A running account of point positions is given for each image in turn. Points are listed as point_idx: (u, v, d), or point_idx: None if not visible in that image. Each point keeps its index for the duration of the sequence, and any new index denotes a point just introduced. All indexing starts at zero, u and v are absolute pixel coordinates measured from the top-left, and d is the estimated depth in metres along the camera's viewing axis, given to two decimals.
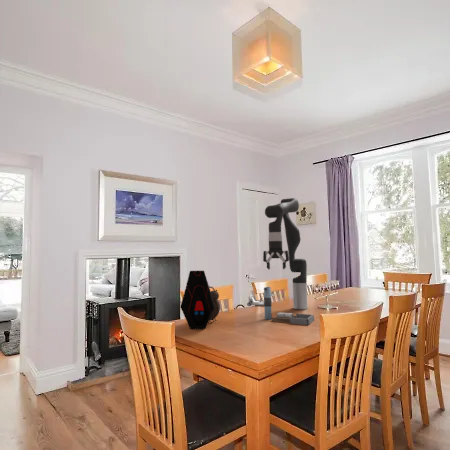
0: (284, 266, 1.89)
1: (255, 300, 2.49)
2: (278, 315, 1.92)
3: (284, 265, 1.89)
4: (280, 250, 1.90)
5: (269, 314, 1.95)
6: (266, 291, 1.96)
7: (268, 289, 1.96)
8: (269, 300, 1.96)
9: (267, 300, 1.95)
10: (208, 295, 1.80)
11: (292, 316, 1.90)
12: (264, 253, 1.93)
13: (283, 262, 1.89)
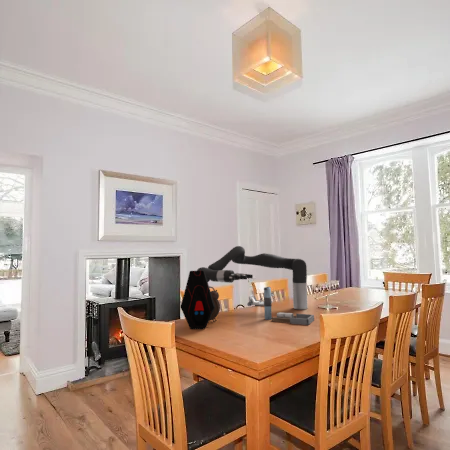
0: None
1: (255, 300, 2.49)
2: (278, 315, 1.92)
3: None
4: None
5: (269, 314, 1.95)
6: (266, 291, 1.96)
7: (268, 289, 1.96)
8: (269, 300, 1.96)
9: (267, 300, 1.95)
10: (208, 295, 1.80)
11: (292, 316, 1.90)
12: (231, 275, 2.02)
13: (246, 275, 2.09)
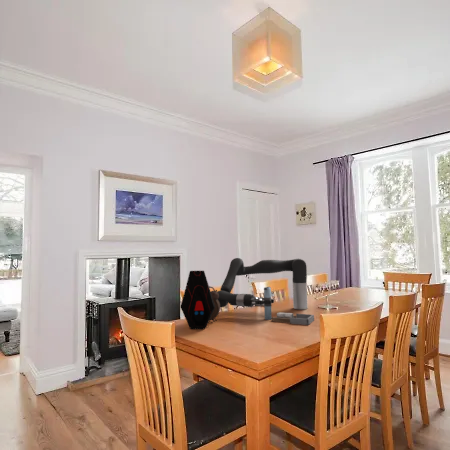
0: None
1: None
2: (278, 315, 1.92)
3: None
4: None
5: (269, 314, 1.95)
6: (266, 291, 1.96)
7: (268, 289, 1.96)
8: None
9: None
10: (208, 295, 1.80)
11: (292, 316, 1.90)
12: (254, 300, 1.95)
13: None
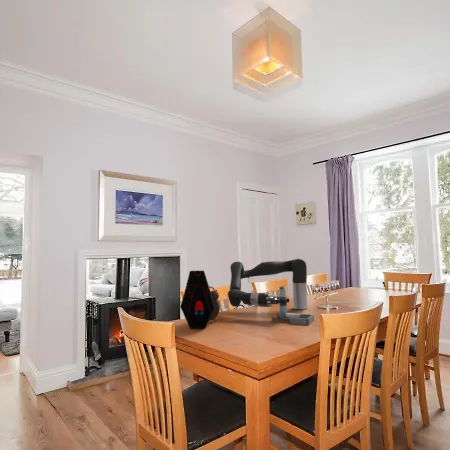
0: None
1: None
2: (287, 315, 1.89)
3: None
4: None
5: (284, 314, 1.91)
6: (282, 290, 1.91)
7: (284, 288, 1.91)
8: (284, 299, 1.91)
9: (283, 299, 1.91)
10: (208, 295, 1.80)
11: (300, 316, 1.88)
12: (269, 299, 1.91)
13: None
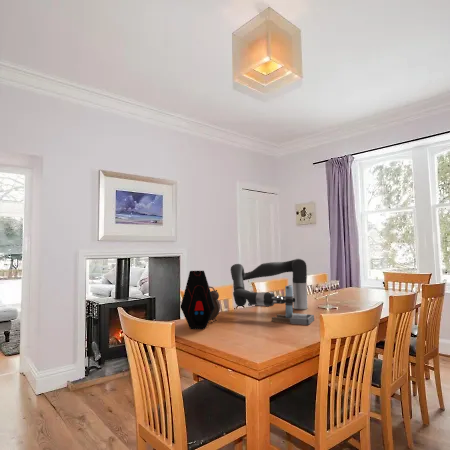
0: None
1: None
2: (293, 316, 1.88)
3: None
4: None
5: (290, 313, 1.89)
6: (288, 290, 1.90)
7: (290, 288, 1.90)
8: None
9: (289, 298, 1.89)
10: (208, 295, 1.80)
11: (307, 317, 1.87)
12: (275, 299, 1.89)
13: None
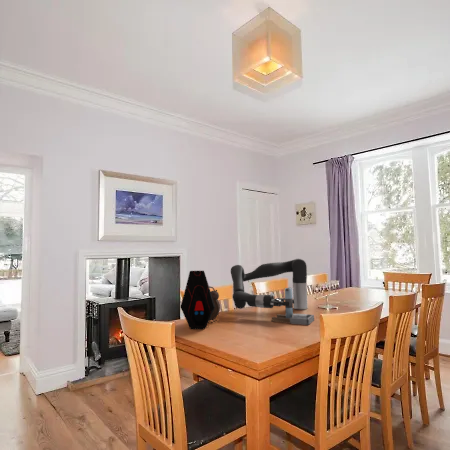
0: None
1: None
2: (293, 316, 1.88)
3: None
4: (275, 299, 1.98)
5: (290, 316, 1.89)
6: (287, 292, 1.90)
7: (289, 290, 1.90)
8: (290, 301, 1.90)
9: (289, 301, 1.90)
10: (208, 295, 1.80)
11: (307, 317, 1.86)
12: (272, 301, 1.89)
13: None
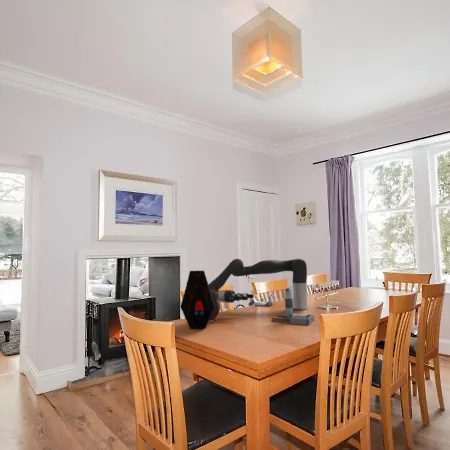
0: None
1: (257, 300, 2.48)
2: (293, 316, 1.88)
3: None
4: None
5: (291, 316, 1.89)
6: (287, 292, 1.90)
7: (289, 290, 1.90)
8: (290, 301, 1.90)
9: (289, 301, 1.90)
10: (208, 295, 1.80)
11: (307, 317, 1.86)
12: (232, 296, 2.01)
13: None
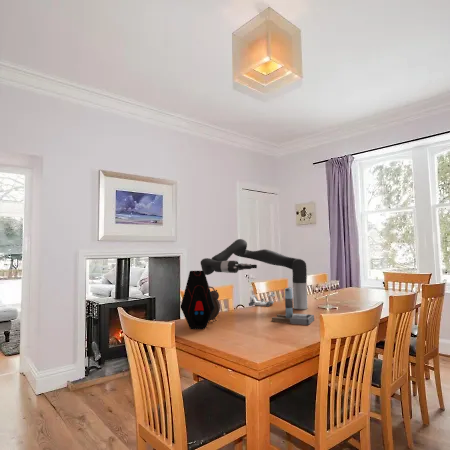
0: None
1: (257, 300, 2.48)
2: (293, 316, 1.88)
3: None
4: None
5: (291, 316, 1.89)
6: (287, 292, 1.90)
7: (289, 290, 1.90)
8: (290, 301, 1.90)
9: (289, 301, 1.90)
10: (208, 295, 1.80)
11: (307, 317, 1.86)
12: (235, 265, 2.01)
13: (250, 265, 2.08)
